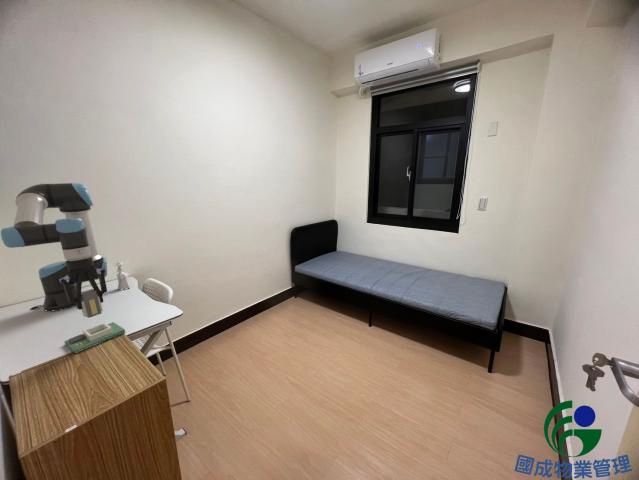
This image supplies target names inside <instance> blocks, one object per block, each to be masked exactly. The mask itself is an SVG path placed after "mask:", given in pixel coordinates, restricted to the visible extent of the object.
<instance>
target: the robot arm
mask: <svg viewBox="0 0 639 480" xmlns="http://www.w3.org/2000/svg"><path fill="white" fill-rule="evenodd" d="M15 205H16V207H17V209H16V213H15V218H14V222H13V226H9V227H4V228H1V230H0V237H1V240H2V243H3V244H4V246H5V247H7V248H10V249H11V248H12V249H13V248H25V247H31V246H38V245H46V244H55V243H60V244H61V250H62V253H63V258H64V260H61V261H57V262H53V263H50V264H47V265H45V266H42V267H41V268H39V270H38V276H39V277H38V278H39V280H40V283H41V286H42V289H43V293H44V301H43V310H44V311H45V310H47V311H46V312H48V311H51V312H53V311H52V310H58V311H61V310H60V309H63V310H66V309H65V308H67V309H70V308H72V306H73V307H75V306H76V307H77V309H78V310H81V313H82V316H83V317H85V318H88V317H87V316H88V315H87V311H86V307H85V303H84V301H83V300H81V292H82V285H83V283H87V282H89V284H90V286H91V288H92V289H93V290H95V291H96V293H97V297H98V301H99V305H100V309H101V312H103V311H104V310H103V306H102V303H104V297H103V294H105V293H107V292H108V289H107V282H106V277H107V276H108V264H107V263H108V262H107V258H106V257H105V256H103V255H102V254H101V253H99V252H98V249H97V245H96V239H95V235H94V233H93V229H92V225H91V221H90V217H89V212H90V211H91V207H92V206H94V203H93V200H92V197H91V193H90V192H89V190H88V188H87V186H86V185H85V184H84V183H79V182H78V183H76V182H75V183H73V182H70V183H69V182H67V183H66V182H65V183H63V182H62V183H40V184H35V185H31V186H29V187H26V188H25V189H23V190H22V191H20V192H19V193H18V194H17V196H16V197H15ZM47 209H59V212H60V213H62V214H64V216H65V218H61V219H60V218H59V219H56V221H55V223H47V224H46V223H44V218H45V217H44V216H45V210H47ZM96 280H98V281H99V285H100V288H99V286H98V283H97V282H96ZM69 307H70V308H69Z"/></svg>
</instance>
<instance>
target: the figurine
mask: <svg viewBox="0 0 639 480" xmlns="http://www.w3.org/2000/svg"><path fill="white" fill-rule="evenodd" d="M123 264H124V262H121V261H120V260H117V262H116V263H114V265H113V266H114V267H117V270H115V271H114V272H113V274H114V273H117V275H116V276H117V277H116V279H117V282H118V284H117V285H118V286H117V289H126V288H130V287H131V286H132V287H134V284H133V283H132V281H130V278H129V273H127V272H124V271H123ZM132 287H131V288H132ZM131 288H130V289H131ZM126 290H127V289H126Z"/></svg>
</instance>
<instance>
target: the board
mask: <svg viewBox="0 0 639 480" xmlns="http://www.w3.org/2000/svg"><path fill="white" fill-rule="evenodd" d="M125 333H126V330H125V328H123V327H121V326H120V325H118V324H117V323H115V322H110V323H106V322H102V323H100V324H99V323H98V324H97V325H95V326H92V327H89V328H86V329H84V330H82V333H81V334H78V335H76V336H73V337H71V338H68V339H67V340H65V341H64V344H65V346H66V347H67V348H68V349H69V350H71V352H72V353H73V352H78V351H79V350H82V349H85V348H87V347H89V346H92V345H94V344H97V343H100V342H102V341H104V340H107V339H109V340H111V339H110V338H112V337H114V336H116V337H118V336H117V335H119V336H120V334H121V335H123V334H125ZM114 338H115V337H114ZM112 339H113V338H112ZM107 341H108V340H107ZM102 343H103V342H102ZM100 344H101V343H100Z"/></svg>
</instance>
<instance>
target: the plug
mask: <svg viewBox="0 0 639 480" xmlns="http://www.w3.org/2000/svg"><path fill="white" fill-rule="evenodd" d="M81 300H83V301H84V303H85V307H86V311H87V315H88V316H87V317H86V318H88V319H89V318H93V317H95V316H99V315H100V314H102V311H101V309H100V305H99V301H98V297H97V293H96V291H95V290H94V289H93V288H91V289H87V290H84V291H81Z"/></svg>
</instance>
